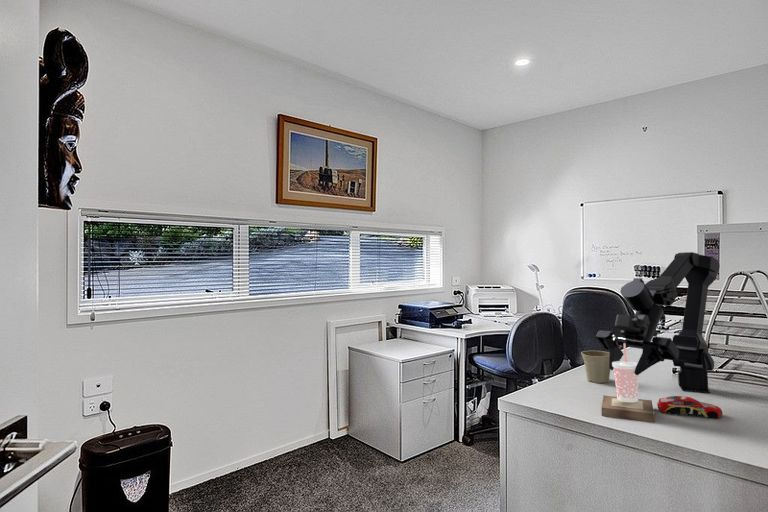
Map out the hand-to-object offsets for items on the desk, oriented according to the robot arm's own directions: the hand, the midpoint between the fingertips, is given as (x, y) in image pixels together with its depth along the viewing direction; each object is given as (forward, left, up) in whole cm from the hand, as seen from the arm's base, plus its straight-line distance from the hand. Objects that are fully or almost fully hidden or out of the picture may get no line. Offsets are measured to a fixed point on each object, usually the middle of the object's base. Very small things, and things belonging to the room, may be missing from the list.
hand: (622, 371), depth 111 cm
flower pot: (+7, -30, -10) cm, 33 cm away
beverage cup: (-1, -1, -7) cm, 7 cm away
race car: (-14, -6, -11) cm, 18 cm away
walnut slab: (-1, -1, -10) cm, 10 cm away
